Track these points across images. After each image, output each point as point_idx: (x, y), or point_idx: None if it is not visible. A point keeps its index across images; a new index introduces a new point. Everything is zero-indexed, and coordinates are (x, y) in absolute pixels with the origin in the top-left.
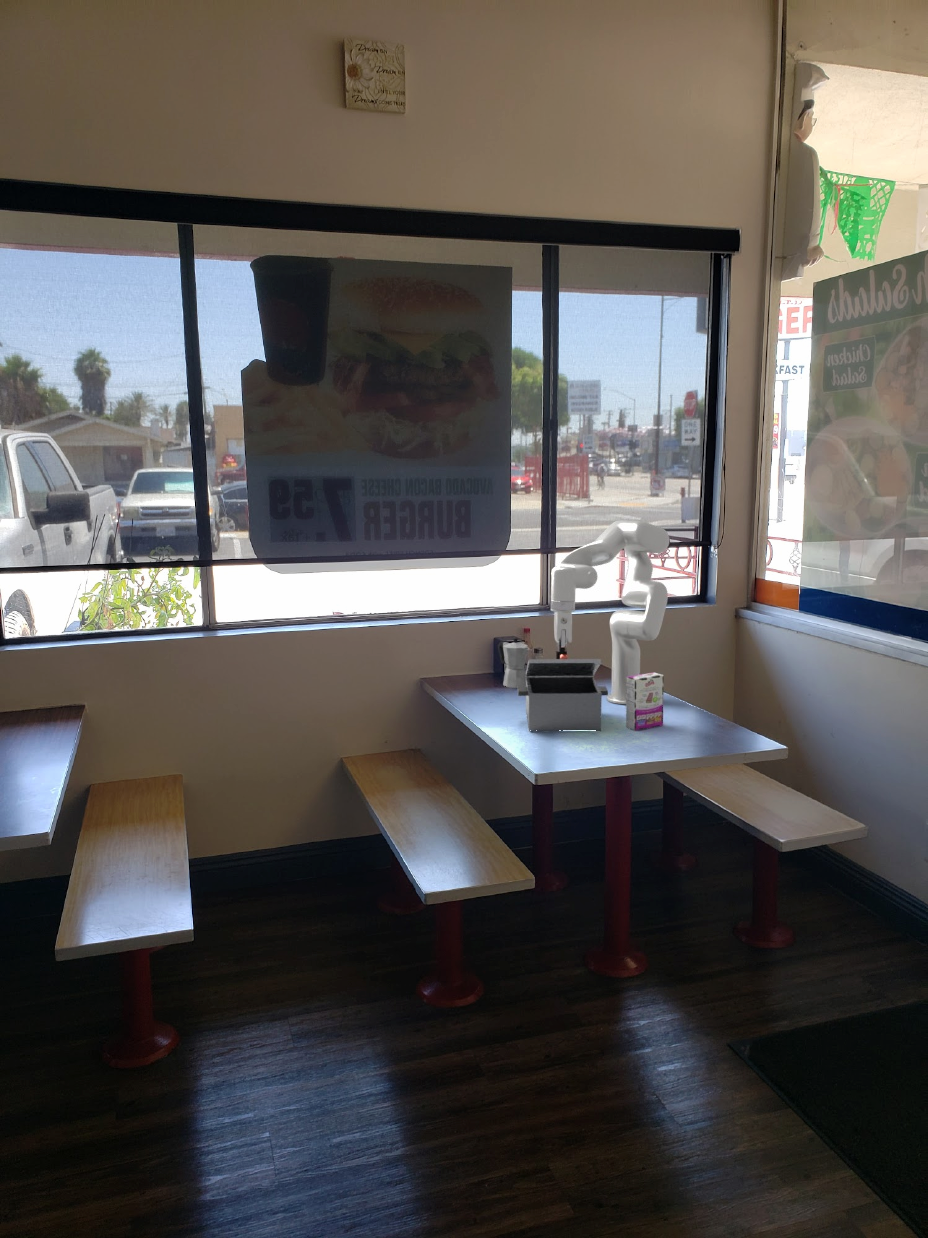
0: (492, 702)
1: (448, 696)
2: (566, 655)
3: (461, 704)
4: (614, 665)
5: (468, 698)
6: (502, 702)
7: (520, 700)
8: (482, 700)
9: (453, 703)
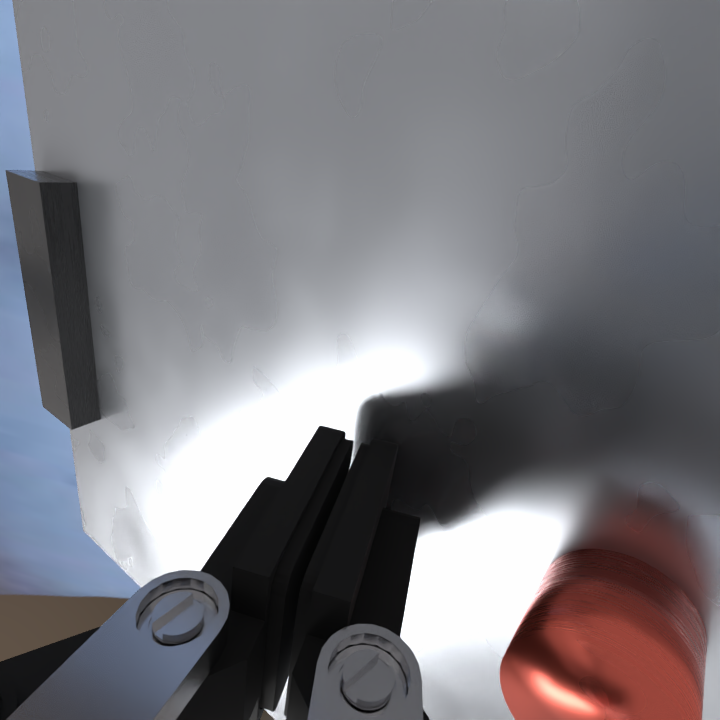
0: (74, 477)
1: (13, 585)
2: (696, 714)
3: (112, 579)
4: None
5: (29, 537)
6: (70, 442)
7: (29, 363)
8: (49, 502)
9: (100, 596)
